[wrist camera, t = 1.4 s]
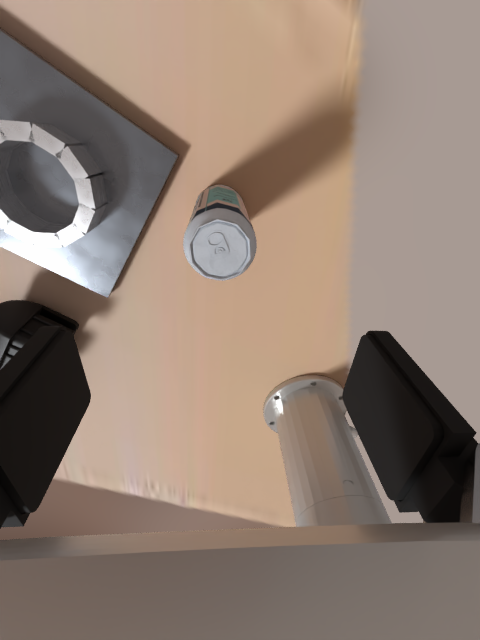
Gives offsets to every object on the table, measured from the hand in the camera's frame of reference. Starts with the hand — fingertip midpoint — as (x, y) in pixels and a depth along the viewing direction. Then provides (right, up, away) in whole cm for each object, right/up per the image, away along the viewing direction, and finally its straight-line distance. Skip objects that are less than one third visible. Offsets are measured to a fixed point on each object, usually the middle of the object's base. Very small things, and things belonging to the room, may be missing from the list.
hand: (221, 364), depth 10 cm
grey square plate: (-16, +14, +17) cm, 27 cm away
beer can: (-1, +12, +19) cm, 23 cm away
